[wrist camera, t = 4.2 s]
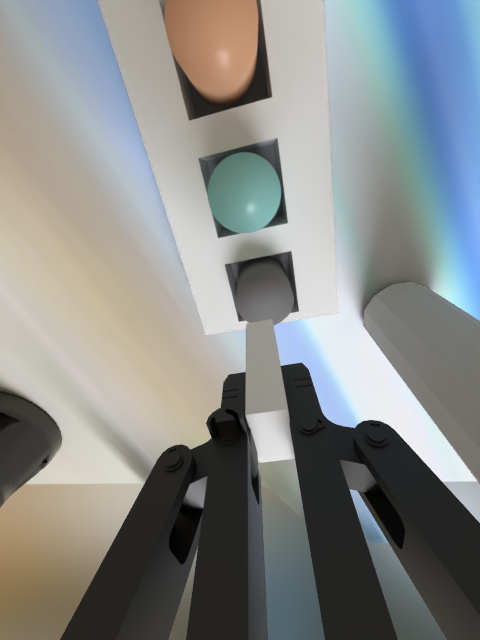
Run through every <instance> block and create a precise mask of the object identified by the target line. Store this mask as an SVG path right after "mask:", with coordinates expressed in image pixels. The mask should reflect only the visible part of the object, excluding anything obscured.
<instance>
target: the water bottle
mask: <svg viewBox="0 0 480 640" xmlns="http://www.w3.org/2000/svg"><path fill="white" fill-rule="evenodd" d="M363 326H364V327H365V329H366V330H367V332H368V333H369V335H370V336H371V337H372V339H373V340H374V341H375V343H376V344H377V346H378V347H379V348H380V350H381V351H382V352H383V354H384V355H385V356H386V358H387V359H388V360H389V362H390V363H391V364H392V366H393V367H394V369H395V370H396V371H397V373H398V374H399V375H400V377H401V378H402V379H403V381H404V382H405V383H406V385H407V386H408V388H409V389H410V390H411V392H412V393H413V394H414V396H415V397H416V398H417V400H418V401H419V402H420V404H421V405H422V407H423V408H424V409H425V411H426V412H427V413H428V415H429V416H430V417H431V419H432V420H433V421H434V423H435V424H436V425H437V427H438V428H439V430H440V431H441V432H442V434H443V435H444V436H445V438H446V439H447V440H448V442H449V443H450V444H451V446H452V447H453V449H454V450H455V451H456V453H457V454H458V455H459V457H460V458H461V459H462V461H463V462H464V463H465V465H466V466H467V468H468V469H469V470H470V472H471V473H472V474H473V476H474V477H475V478H476V480H477V481H478V482H479V484H480V321H479V320H477V319H476V318H474V317H472V316H471V315H469V314H468V313H466V312H465V311H463V310H462V309H460V308H458V307H457V306H455V305H454V304H452V303H451V302H449V301H448V300H446V299H444V298H443V297H441V296H440V295H438V294H437V293H435V292H434V291H432V290H430V289H429V288H427V287H424V286H422V285H420V284H417V283H415V282H404V283H397V284H392V285H390V286H388V287H387V288H385V289H383V290H382V291H380V292H378V293H377V294H375V295H374V296H373V298H372V299H371V301H370V302H369V304H368V305H367V307H366V308H365V310H364V321H363Z"/></svg>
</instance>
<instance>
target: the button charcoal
mask: <svg viewBox="0 0 480 640" xmlns="http://www.w3.org/2000/svg"><path fill="white" fill-rule="evenodd" d="M293 304H294V295H293V291H292V288H291V286H290V283H289V280H288V277H287V274H286V271H285V269H284V267H283V265H282V264H281V263H280V262H279V261H278V260H277V259H275V258H274V257H271V256H264V257H259V258H254V259H249V260H247V261H246V262H245V263H244V264H243V266H242V267H241V269H240V272H239V277H238V285H237V293H236V307H237V310H238V312H239V314H240V315H241V317H242V318H243V319H244V320H246V321H247V322H248V323H252V322H258V321H264V320H269V319H272V321H273V325H275V324H278V323H280V322H281V321H283V320H284V319H285V318H286V317H287V316H288V315H289V314H290V312H291V310H292V308H293Z"/></svg>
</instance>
